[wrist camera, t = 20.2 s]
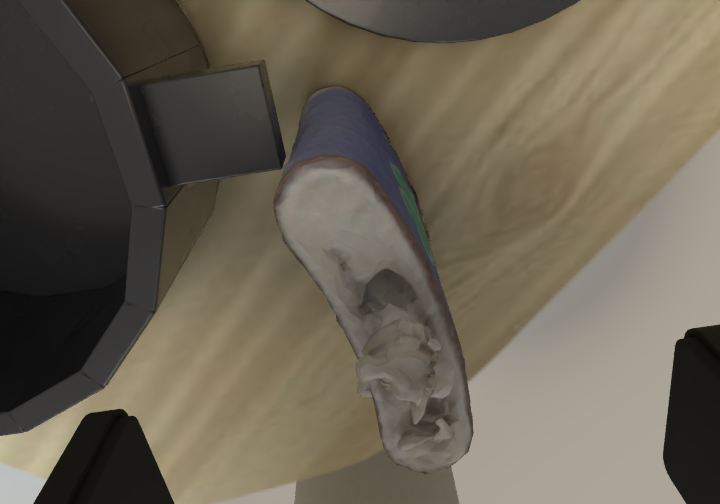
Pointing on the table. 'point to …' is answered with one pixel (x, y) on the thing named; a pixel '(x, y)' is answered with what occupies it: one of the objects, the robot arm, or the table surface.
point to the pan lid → (441, 17)
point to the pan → (106, 182)
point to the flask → (377, 277)
